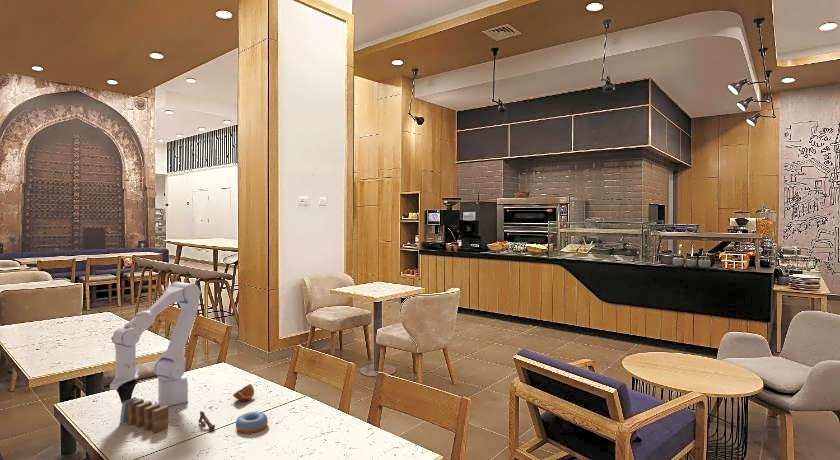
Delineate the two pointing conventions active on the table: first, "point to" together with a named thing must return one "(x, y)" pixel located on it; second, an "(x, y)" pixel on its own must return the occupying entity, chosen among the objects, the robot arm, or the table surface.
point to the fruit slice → (245, 393)
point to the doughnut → (251, 422)
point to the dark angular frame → (205, 421)
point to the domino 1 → (126, 409)
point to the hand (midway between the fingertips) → (125, 403)
